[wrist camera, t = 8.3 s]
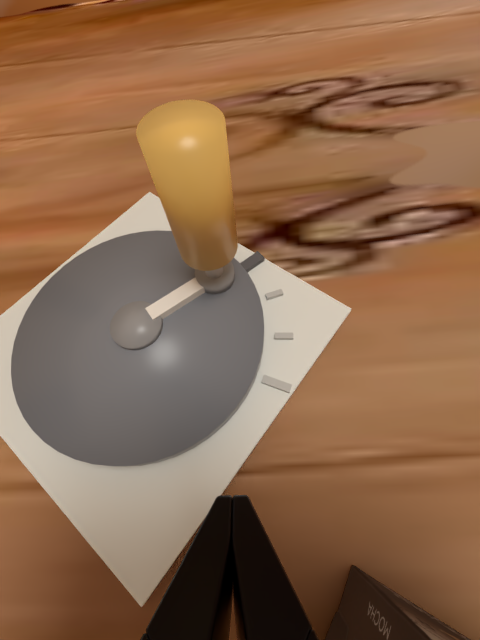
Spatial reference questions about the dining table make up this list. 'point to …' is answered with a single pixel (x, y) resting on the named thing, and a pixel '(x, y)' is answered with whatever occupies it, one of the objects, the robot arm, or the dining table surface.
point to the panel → (192, 466)
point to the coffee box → (383, 615)
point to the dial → (148, 315)
